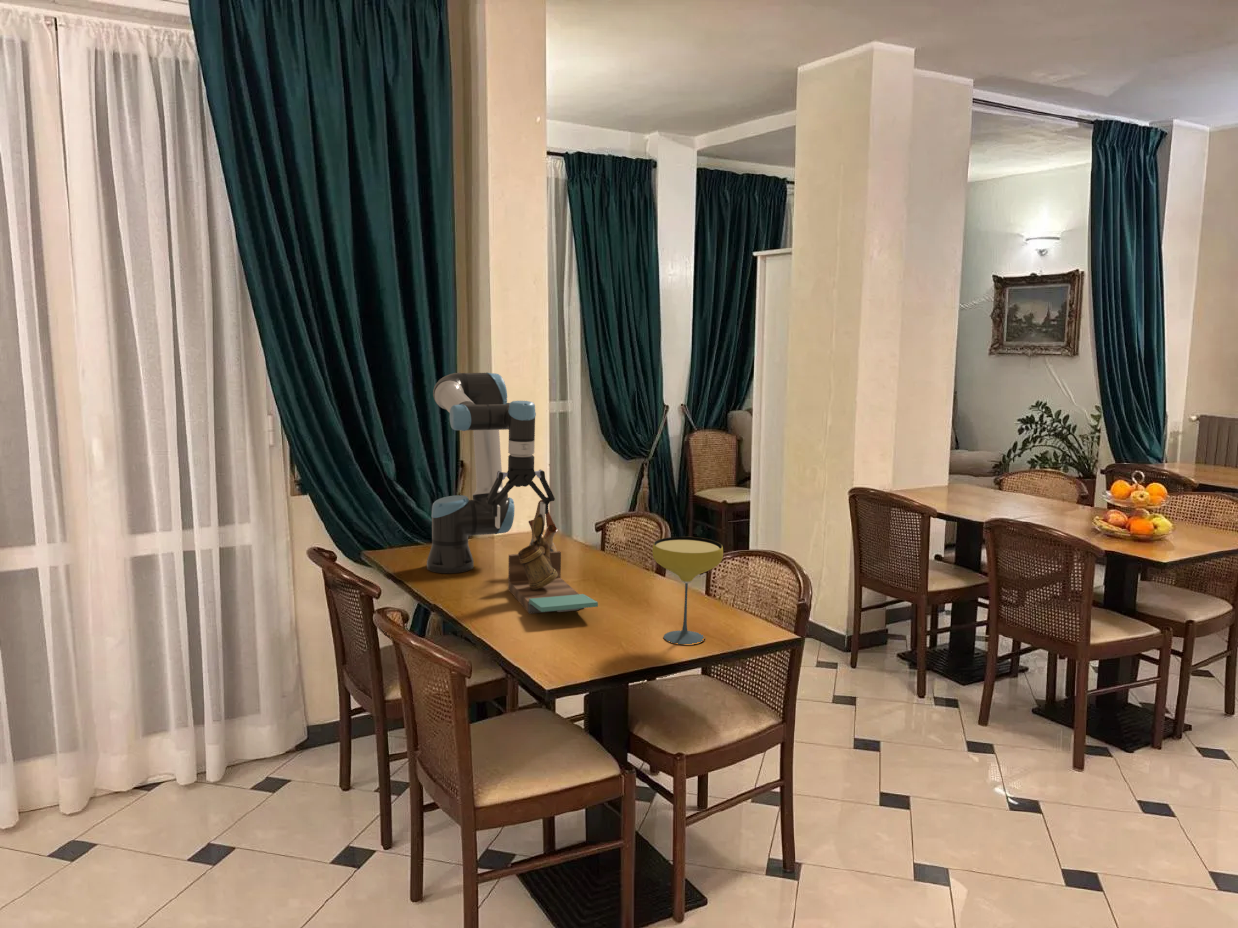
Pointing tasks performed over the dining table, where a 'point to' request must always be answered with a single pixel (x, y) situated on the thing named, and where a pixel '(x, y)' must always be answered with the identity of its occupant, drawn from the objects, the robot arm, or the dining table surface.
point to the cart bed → (523, 592)
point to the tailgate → (563, 603)
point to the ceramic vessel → (549, 531)
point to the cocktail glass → (686, 570)
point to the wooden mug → (538, 559)
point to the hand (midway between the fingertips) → (520, 525)
